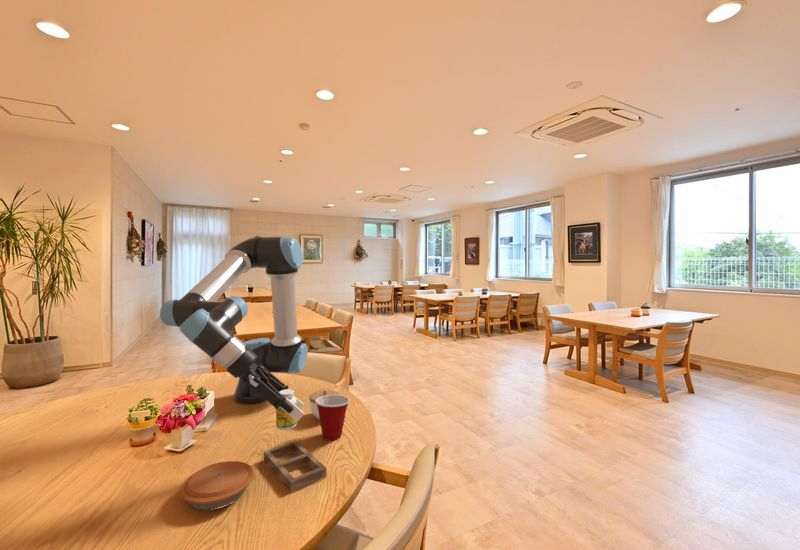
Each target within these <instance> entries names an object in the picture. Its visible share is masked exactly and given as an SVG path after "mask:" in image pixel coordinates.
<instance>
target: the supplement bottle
mask: <svg viewBox="0 0 800 550" xmlns="http://www.w3.org/2000/svg"><path fill="white" fill-rule="evenodd" d="M279 393H280V394H281V395H282V396H283V397H284V398H285V399H286V398H287V399H289V400H290V401H291V402H292V403H293V404H294V405H296V406H297V401H296V399H295V398H294V396H295V391H294V389H289V388H288V389H285V390H281V391H279ZM275 420H276V421H275V425H276V428H277V430H280V431H288V430H292V429H294V428H295V427H297V423H298V421H295V420H294V419H293V418H292V417H291V416H289V415H288V414H287V413H286V412H285V411H283V410H282V409H281V408H280V407H279V408H278V409H275Z"/></svg>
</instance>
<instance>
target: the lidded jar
mask: <svg viewBox="0 0 800 550" xmlns="http://www.w3.org/2000/svg"><path fill="white" fill-rule="evenodd" d="M326 395H341V393H340V392H339V391H336V390H334V389H333V390H332V389H321V390H317V391H314V392H312V393H310V395H309V397H308V399H309V408H310V411H311V413H312V415H313V416H314V417H315V419H317V420H319V421H320V417H319V412H318V407H317V404H316V401H315V400H316V399H317V398H318V397H321V396H326Z"/></svg>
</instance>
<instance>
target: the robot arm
mask: <svg viewBox="0 0 800 550" xmlns="http://www.w3.org/2000/svg"><path fill="white" fill-rule="evenodd" d="M303 259H304V256H303V249H302V246H301V244H300V243H299V241H298V239H295V238H293V237H287V236H286V237H285V236H268V237H267V236H256V237H255V236H254V237H251V238H248V239H245V240H244V241H242V242H239V243H238V244H236V245H235V246H233V247H232V248H230V250H227V252H226V253H225V254H224V259H223V260H221V262H219V263H218V264H217V265H216V266H215V267H214V268H213V269H212V270H210V272H209V273H207V274H206V275H205V276H204V277H203V278H202V279H201V280H200V281H199V282H198V283H196V285H194V286H193V287H192V288H191V289H190V290H188V292H187V293H186V294H184V295H183V296H182V297H181V298H180V299H176V298H175V299H170V300H166V301H165V302H164V303H163V304H162V305H161V308H160V311H159V317H160V319H161V322H162V324H164V325H166V326H170V327H177V328H179V331H180V332H181V334H182V335H184V337H186V338H187V340H189V342H191V343H192V344H194V345H195V346H197V348H199V349H200V350H201V351H203V352H204V353H205V354H206V355H207V356H208V357H210V359H212V360H213V362H214V364H215V365H216V364H218V365H219V366H221V367H222V368H226V372H227V373H229V374H230V375H231V376H232V377H233V378H235V379H238V381H237V384H236V386H235V387H236V388H235V391H234V395H233V396H234V397H233V398H234V401H235V402H236V403H238V402H239V403H238V404H243V403H248V404H249V403H250V404H258V403H262V402H266V401H267V402H268V403H269V404H270V405H271V406H272V407H274V409H275V410H276V409H278V408H279V407H280V408H281V409H282V410H283V411H285V412H286V413H287V414H288V415H289V416H291V417H292V418H293V419H294V420H295V421H297V422H299V420H301V418H303V416H304V415H305V412H304V411H302V410H301V409H303V407H304V406H305V404H304V402H303V401H301V400H300V399H299V398H297V397H296V396H295V395H294V398H295V399H296V401H297V406H296V405H294V404H293V403H292V402H291V401H290V400H289V399H287V398H286V399H285V398H284V397H283V396H282V395H281V394H280V393H279V391H281V390H285V389H289V385H286V384H285V383H283V381H281V380H280V379H279V378H278V377H276V376H275V375H274V374H273V373H277V374H279V373H280V374H298V373H300V372H301V371H303V369H304V367H305V366H306V362H307V358H308V354H309V353H308V351H309V349H308V345H307V344H306V343H303V342H302V336H300V335H299V334H298V322H297V321H298V320H297V308H296V307H297V301H296V288H295V287H296V286H295V285H296V284H295V276H296V275H297V273H298V272H299V270H298V269H300V268H301V267H302V265H303ZM256 268H260V269H261V268H262V269H263V268H264V269H265V274H266V275H267V276H268V277H269V278H270V288H271V301H272V315H273V316H272V318H273V328H274V329H273V331H274V332H273V333H274V337H273V338H272V339H270V338H269V337H260V338H258V337H257V338H253V339H249V340H246V341H241V340H240V339H239V338H238V337H236V336H235V335H234V334H233V333H232V332H231V331H232V330H233V329H234V328H235V327H236V326H237V325H239V323H241V322H242V321H243V319H244V318H245V317H246V316H247V314H248V311H249V306H248V304H247V302H246V301H245V300H244V299H243V298H242V297H240V296H239V295H238V296H237V295H230V296H228V297H226V298H224V299H223V300H218V299H219V298H221V296H222V295H223V294H224V293H225V292H226V291H227V290H228V289H229V288H230V287H231V286H232V285H233V283H235V281H237V280H238V278H239V277H240V276H241V275H242V274H246V273H248V271H250V270H251V269H256Z"/></svg>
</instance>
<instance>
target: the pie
mask: <svg viewBox="0 0 800 550" xmlns="http://www.w3.org/2000/svg"><path fill="white" fill-rule="evenodd" d="M254 477H255V471H254V469H253V467H252V465H250V464H249V463H246V462H242V461H239V460H238V461H233V460H232V461H220V462H216V463H212V464H209V465H207V466H205V467H203V468H201V469H199V470H197V471H196V472H194V473H192V474H191V475H190V476H188V477H187V478H186V479H185V480H184V482H183V483H182V484H181V487H180V490H179V491H180V494H181V496H182V497H183V499H185V500H186V502H188V503H189V504H190V505H191V506H192V507H193V508H194V507H195V508H194V509H196V508H197V509H196V510H198V509H200V510H199V511H202V510H210V511H212V510H211V509H215V508H218V507H221V506H224V505H227V504H229V503H231V502H233V501H235V500H236V499H237V500H239V499H238V498H240V497H242V495H243V494H244V492H245V491H246V488H247V487H248V486H249V485H250V483H251V482H252V480H253V479H254ZM237 500H236V501H237ZM236 501H235V502H236ZM233 503H234V502H233Z"/></svg>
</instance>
